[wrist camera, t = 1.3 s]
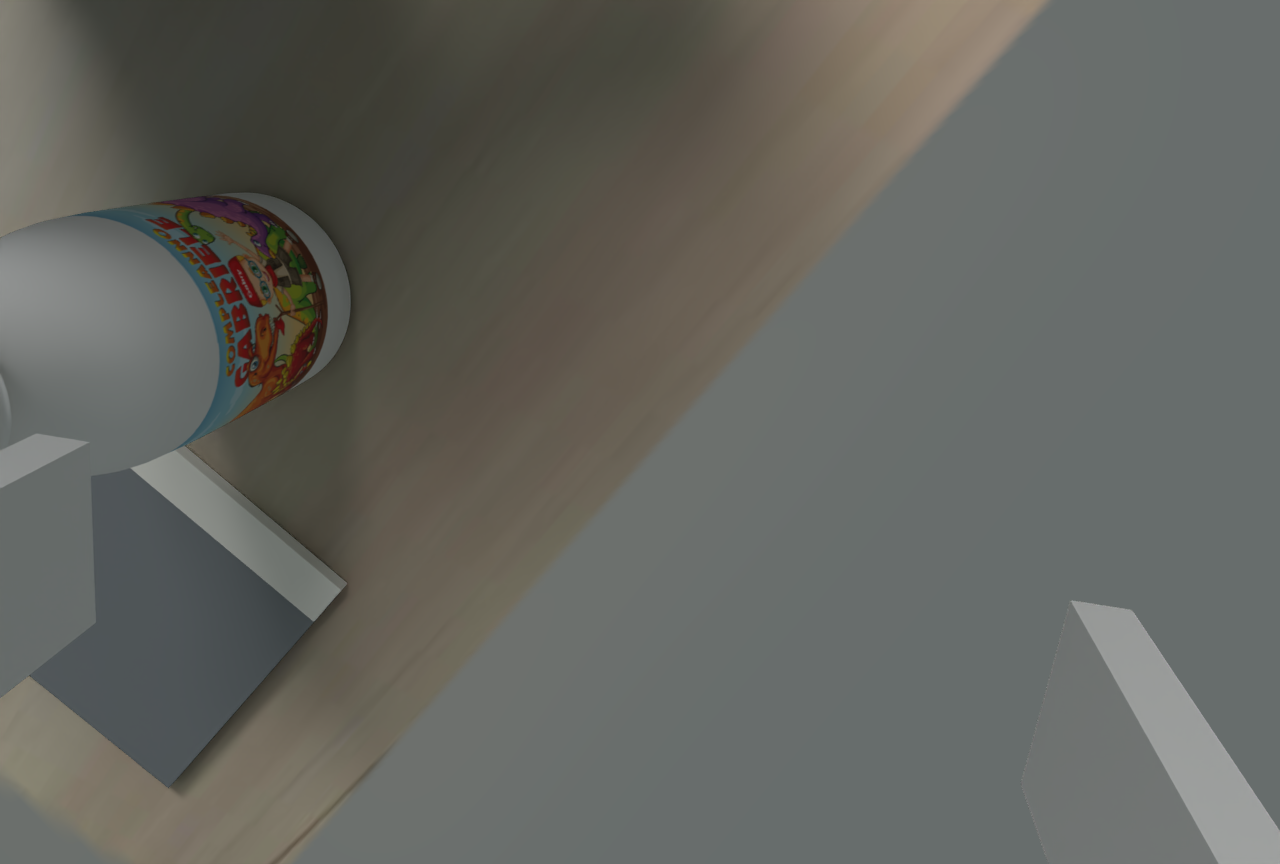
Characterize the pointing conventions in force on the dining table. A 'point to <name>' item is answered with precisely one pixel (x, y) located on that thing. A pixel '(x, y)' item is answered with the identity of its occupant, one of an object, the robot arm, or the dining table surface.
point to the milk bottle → (162, 321)
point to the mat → (182, 610)
